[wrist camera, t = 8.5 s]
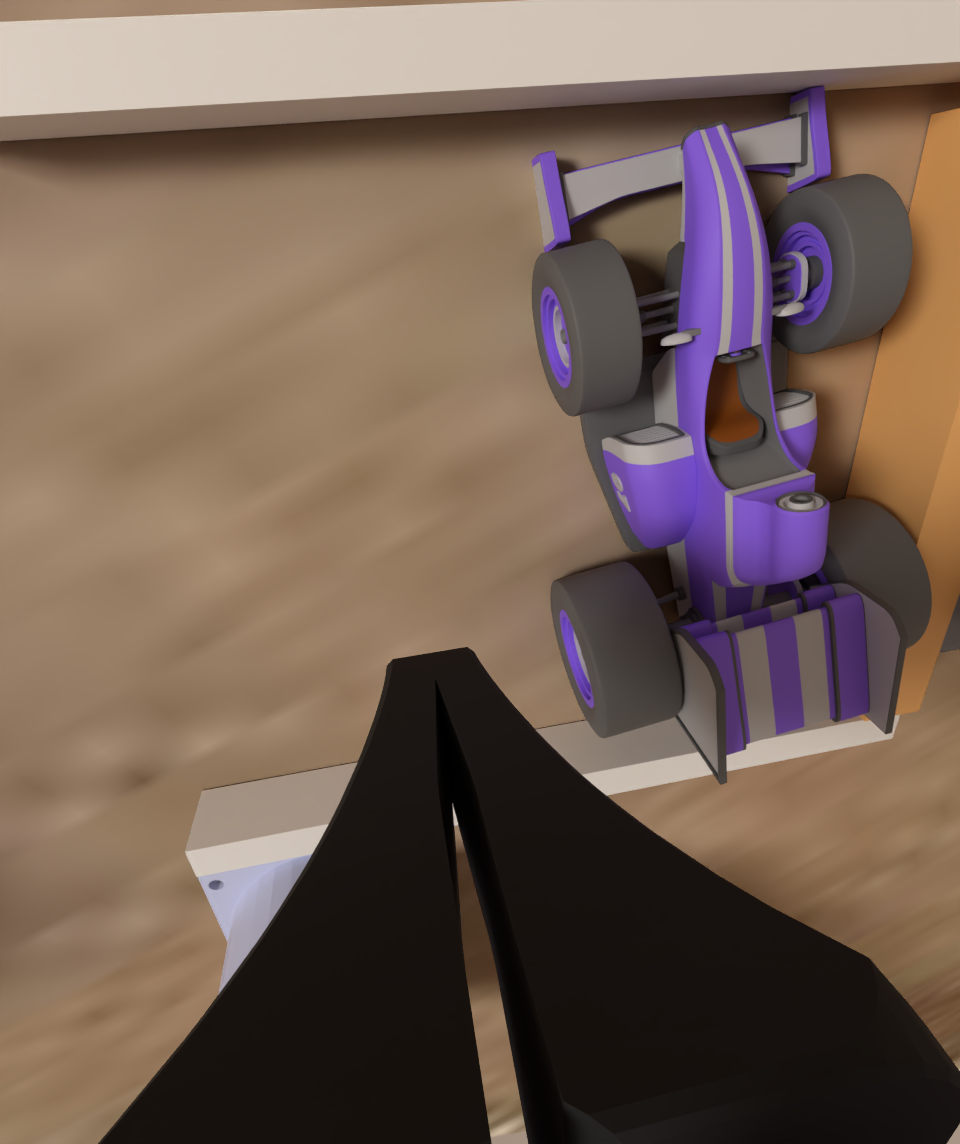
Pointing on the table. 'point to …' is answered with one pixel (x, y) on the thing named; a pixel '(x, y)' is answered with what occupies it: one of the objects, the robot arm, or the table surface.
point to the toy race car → (728, 442)
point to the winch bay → (541, 80)
